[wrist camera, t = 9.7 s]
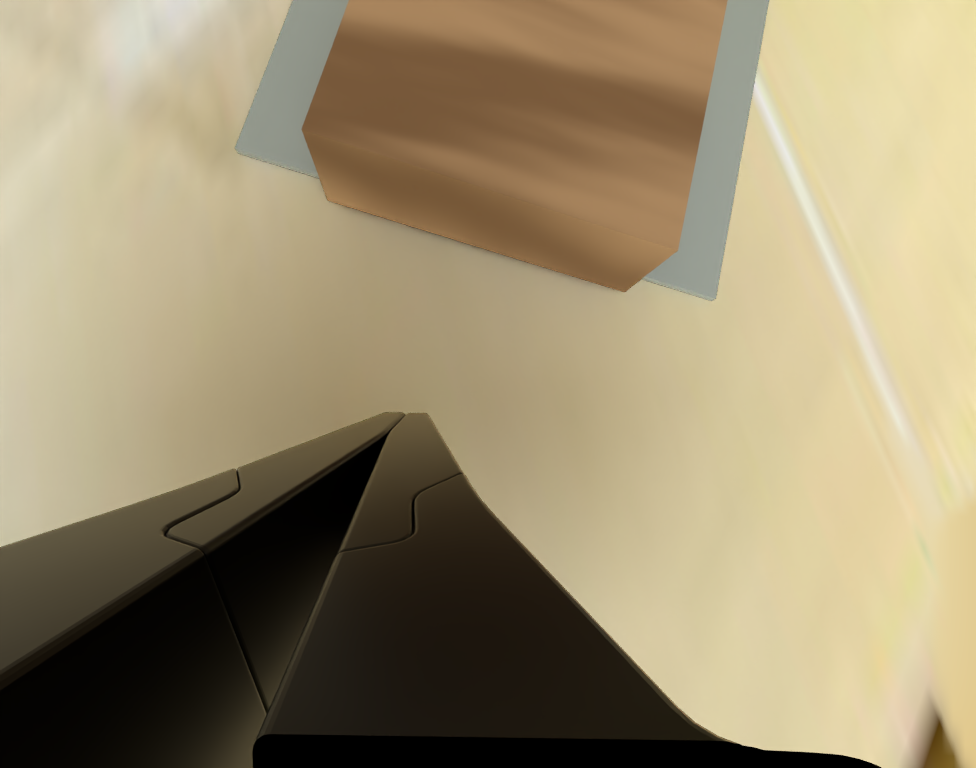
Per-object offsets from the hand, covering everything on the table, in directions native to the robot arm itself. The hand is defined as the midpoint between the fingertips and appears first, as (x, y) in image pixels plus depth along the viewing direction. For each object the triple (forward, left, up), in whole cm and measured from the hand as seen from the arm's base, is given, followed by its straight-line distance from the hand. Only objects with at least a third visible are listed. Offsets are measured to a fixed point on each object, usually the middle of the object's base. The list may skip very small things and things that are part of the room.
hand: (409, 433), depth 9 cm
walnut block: (+7, -3, -6) cm, 10 cm away
